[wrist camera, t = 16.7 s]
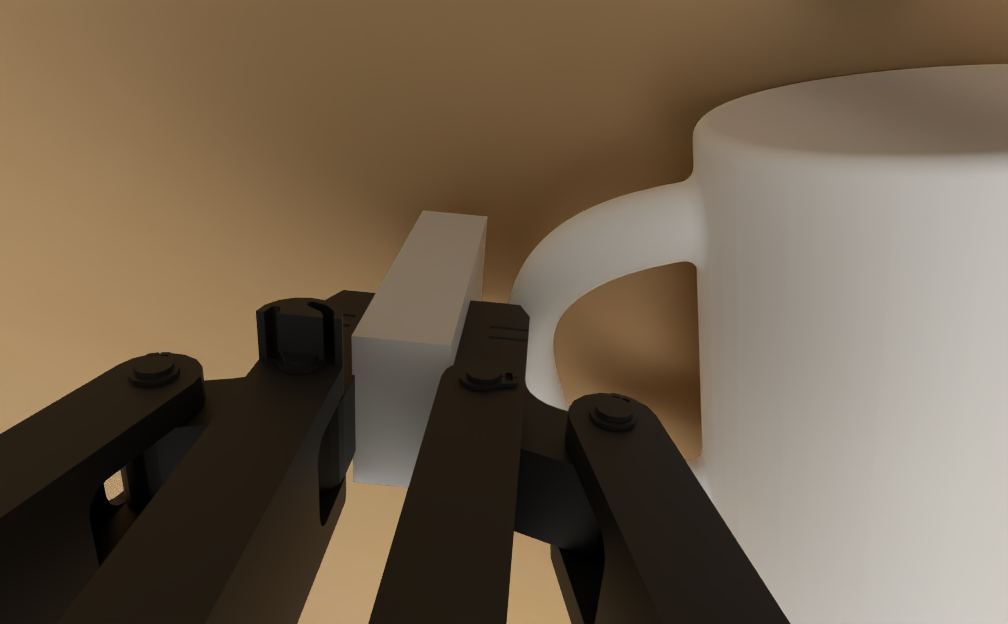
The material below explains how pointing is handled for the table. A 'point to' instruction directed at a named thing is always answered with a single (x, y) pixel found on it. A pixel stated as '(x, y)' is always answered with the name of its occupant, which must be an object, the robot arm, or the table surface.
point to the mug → (835, 334)
